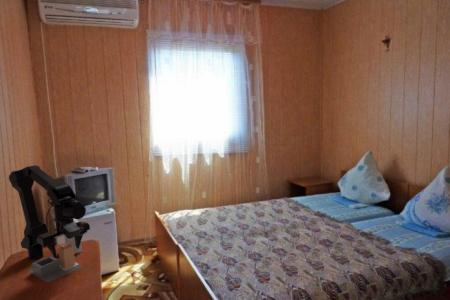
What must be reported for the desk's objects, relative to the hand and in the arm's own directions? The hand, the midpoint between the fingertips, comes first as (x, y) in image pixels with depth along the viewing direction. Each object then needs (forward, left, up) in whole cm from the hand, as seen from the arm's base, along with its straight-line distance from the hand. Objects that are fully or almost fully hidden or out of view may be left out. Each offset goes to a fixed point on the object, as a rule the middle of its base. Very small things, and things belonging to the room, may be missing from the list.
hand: (66, 252), depth 124 cm
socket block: (-2, -4, -6) cm, 8 cm away
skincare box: (-12, +9, -7) cm, 16 cm away
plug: (0, 0, -5) cm, 5 cm away
